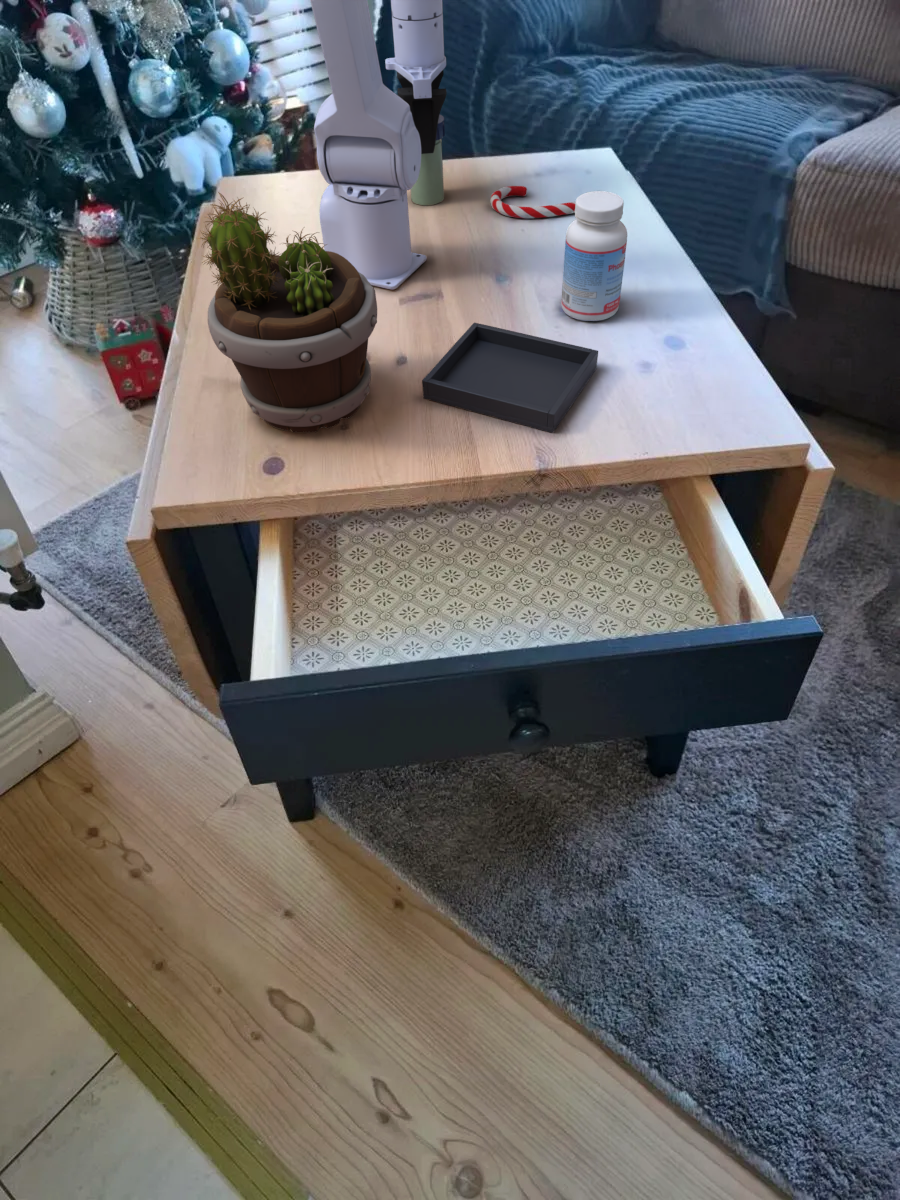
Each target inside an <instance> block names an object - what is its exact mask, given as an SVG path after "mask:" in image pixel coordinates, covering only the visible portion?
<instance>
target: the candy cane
mask: <svg viewBox="0 0 900 1200" xmlns="http://www.w3.org/2000/svg"><path fill="white" fill-rule="evenodd" d="M527 193H528V188H527V187H526V186H523V185H508V186H503V187H500V188H498V189H497V190H495V191H493V193H492V194H491V195H490V199H489V202H490V203H489V204H490V207H491V208H492V209H493V210H494V211H495V212H497V213H499V214H500V215H503V216H505V217H510V218H517V219H541V218H543V219H544V218H551V217H552V218H553V217H557V216H558V217H559V216H566V215H570V214H575V205H576V200H575V201H569V202H563V203H555V204H549V205H539V206H518V205H513V204H512V205H511V204H508V203H506V202H504V201H502V200H503V199H505V198H507V197H526V195H527Z"/></svg>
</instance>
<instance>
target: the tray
mask: <svg viewBox="0 0 900 1200" xmlns="http://www.w3.org/2000/svg"><path fill="white" fill-rule="evenodd" d="M598 358H599V350H597V349H592V348H589V347H583V346H580V345H576V344H571V343H566V342H562V341H557V340H553V339H549V338H545V337H540V336H536V335H532V334H527V333H524V332H519V331H514V330H510V329H505V328H501V327H496V326H493V325H489V324H483V323H478V322H473V323H472V324H471V325H470V326H469V328H468V329H467V330H465V332H464V333H463V334H462V335H461V336H460V337H459V338H458V339H457V340H456V342H455V343H454V344H453V345H452V347H450V348H449V350H448V351H447V352H446V353H445V354H443V356H442V357H441V358H440V360H439V361H438V362H436V364H435V365H434V366H433V368H432V369H431V370H430V371H429V372H428V373H427V374H426V375H425V377H423V378H422V380H421V385H422V387H421V388H422V398H423V399H425V400H429V401H432V402H436V403H440V404H443V405H446V406H451V407H455V408H457V409H458V408H459V409H462V410H466V411H469V412H474V413H477V414H481V415H485V416H489V417H492V418H496V419H499V420H503V421H506V422H511V423H515V424H518V425H522V426H526V427H530V428H533V429H537V430H541V431H544V432H549V433H554V432H555V431H556V430H557V428H558V426H559V425H560V424H561V422H562V420H563V419H565V416H566V415H567V413H568V412H569V410H570V409H571V407H572V406H573V405H574V403H575V401H576V400H577V398H578V397H579V395H580V394H581V392H582V391H583V390H584V389H585V387H586V385H587V383H588V382H589V381H590V379H591V378H592V376H593V375H594V373H595V372H596V370H597V368H598Z"/></svg>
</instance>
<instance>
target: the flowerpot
mask: <svg viewBox="0 0 900 1200" xmlns="http://www.w3.org/2000/svg"><path fill="white" fill-rule="evenodd" d="M218 195H219V197H220V198H221V200H222V201H221V200H220V199H219V198H217V200H218V201H219V204H220V205H218V204H213V203H211V206H212V208H213V209H214V210H213V211H212V213H207V215H208V217H207V216H205V218H207V219H208V220H206V221H203V223H204V227H205V229H206V231H203V230H200V233H201V235H202V237H201V236H200V238H198V237H196V239H198V240H202V241H203V242H202V244H201V246H200V247H201V248H202V249H204V247H205V244H207V246H206V249H208V252H206V253H205V254H204V255H202V257H203V258H206V259H205V260H203V261H202V262H201V264H203V265H205V264H206V266H207V265H208V266H209V269H210V270H213V267H215V270H217V272H216V274H215V273H214V272H212V274H213V275H212V274H211V277H213V278H214V279H216V280H214V281H211V282H210V283H213V286H214V285H217V289H216V290H215V293H214V296H213V297H212V298H211V300H210V302H209V304H208V308H207V325H208V330H209V334H210V336H211V339H212V341H213V343H214V345H215V347H216V348H217V349H218V350H219V351H220V353H222V354H223V356H225V357H227V358H228V359H231V362H232V363H233V366H234V367H235V369H236V370H237V372H238V374H239V375H240V390H241V393H242V396H243V397H244V399H245V401H246V403H247V404H248V406H249V408H250V409H251V411H252V413H253V414H254V415H257V416H258V417H259V418H261V419H262V420H263V421H264V422H265V423H266V424H267V425H269V426H271V427H273V428H275V429H278V430H280V431H281V430H282V431H290V432H292V433H295V434H296V433H301V434H302V433H317V432H318V431H319V429H322V428H325V429H330V428H333V427H335V426H337V425H339V424H340V422H341V421H342V420H347V419H349V418H351V417H352V416H354V415H355V414H356V413H357V411H358V410H359V408H360V407H361V405H362V403H363V402H364V401H365V399H366V397H367V396H368V394H370V391H371V389H370V385H371V380H372V379H371V378H372V377H371V376H372V368H371V365H370V362H369V360H368V358H367V355H368V347H369V339H370V337H371V335H372V333H373V332H374V330H375V327H376V325H377V323H378V302H377V295H376V290H375V288H374V286H373V285H371V284H370V283H369V282H368V280H367V279H366V278H365V276H364V275H363V274H361V273H359V272H358V271H357V270H356V268H355V267H354V266H353V265H352V264H351V263H350V262H349V261H348V260H347V259H345V258H344V257H343V256H341V255H339V254H337V253H334V252H330V251H325V250H324V244H323V242H319V241H318V239H317V237H316V236H315V234H320V232H318V231H317V232H314V233H307V234H305V235H304V236H302V234H303V231H304V229H305V227H303V228H302V229H301V230H300V232H298V231H295V230H293V232H294V233H296V234H294V237H293V241H292V242H291V243H290V242H289V237H290V235H287V237H286V238H285V241H286V242H281V243H280V245H281V244H282V245H285V246H286V249H285V250H284V251H283V252H281V253H280V252H279V251H278V252H277V253H276V248H277V247H276V246H274V247H275V248H274V251H273V249H271V248H268V243H269V245H271V244H272V245H274V243H275V240H273V239H272V238H274V237H277V235H276V234H275V232H273V233H270V232H271V230H272V227H269V226H267V229H266V228H264V227H263V226H264V225H263V222H262V221H261V220H264V221H265V220H266V221H268V219H267V218H263V217H261V216H262V215H264V214H266V211H264V212H262V213H261V214H260V213H259V211H257V210H256V209H255V208H254V206H253V207H252V208H253V211H254V212H255V213H254V212H252V213H251V214H249V213H248V212H249V211H248V210H249V209H250V206H251V204H248V203H247V202H246V204H245V205H243V206H242V205H241V202H240V201H241V200H242V199H244V197H241V198H239V197H238V196H236V198H237V200H236V201H235V199H233V201H231V202H230V203H229V202H228V201H227V199H226V197H225V196H224V195H223V194H222V193H220V192H219V191H218ZM237 203H238V204H237ZM245 209H246V210H245ZM214 211H215V213H214ZM210 215H211V216H210ZM259 222H260V223H259ZM205 223H208V224H205ZM208 225H209V227H207V226H208ZM261 227H263V228H264V230H263V228H261ZM269 228H270V229H269ZM207 232H208V233H207ZM309 235H310V236H309ZM307 238H308V239H307ZM295 239H297V242H295ZM204 240H205V241H204ZM313 240H314V241H313ZM270 242H271V243H270ZM321 245H322V246H321ZM326 245H327V244H326ZM269 249H270V250H269ZM209 250H211V253H210V251H209ZM272 252H273V253H272ZM212 266H213V267H212ZM218 272H219V273H218Z"/></svg>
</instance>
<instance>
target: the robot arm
mask: <svg viewBox="0 0 900 1200" xmlns="http://www.w3.org/2000/svg"><path fill="white" fill-rule="evenodd" d="M309 1H310V5H311V11H312V13H313V19H314V22H315V26H316V30H317V35H318V39H319V43H320V46H321V51H322V55H323V60H324V64H325V67H326V72H327V75H328V80H329V84H330V89H331V92H332V93H331V94H330V95H329V96H328V97H327V98H325V100H324V101H323V102H322V103H321V105H320V107H319V108H318V110H317V114H316V116H315V121H314V126H313V129H314V130H313V131H314V137H315V142H316V159H317V165H318V169H319V172H320V174H321V176H322V177H323V179H324V182H326V183H327V187H326V188H325V189H324V191H323V193H322V196H321V198H320V202H319V203H320V204H319V223H320V224H319V225H320V230H321V237H322V243H323V244H322V245H323V246H324V247H323V249H324V250H325V251H330V252H334V253H337V254H339V255H341V256H343V257H344V258H345V259H347V260H348V261H349V262H350V263H351V264H352V265H353V266H354V267H355V268H356V270H357V271H358V272H359V273H361V274H363V275H364V276H365V278H366V279H367V280H368V282H369V283H370V284H371V286H373V287H379V288H383V289H388V290H395V289H397V288H398V287H400V286H401V284H403V283H404V282H405V281H406V280H407V279H408V278H409V277H411V276H412V274H413V273H414V272H415V271H417V269H419V268H420V267H421V266H422V265H423V264H424V263H425V262H426V261H427V260H428V259H427V255H426V254H421V253H417V252H412V240H411V229H410V227H411V226H410V213H409V202H408V201H409V200H408V191H411V190H410V189H411V188H412V187H413V185H414V184H415V183H416V181H417V179H418V176H419V172H420V166H421V154H428V153H434V149H435V143H436V135H437V126H438V119H439V115H441V111H442V108H443V105H444V103H445V100H446V98H447V88H440V85H441V83H442V81H443V80H442V79H443V77H444V74H445V73H444V69H445V68H446V67H447V57H446V56H445V42H444V41H445V40H444V14H443V12H444V11H443V0H390V8H391V9H390V10H391V23H392V36H393V47H394V48H393V49H394V57H389V58H388V57H387V58H386V59H384V61H385V62H384V63H385V64H384V65H385V69H386V71H387V70H388V71H396V78H397V80H398V82H399V83H400V85H401V87H398V88H397V94H396V93H395V92H394V91H392V90H391V89H390V88H389V87H387V85H385V84H384V83H383V76H382V72H381V67H380V66H381V65H380V61H379V55H378V50H377V44H376V39H375V34H374V28H373V22H372V17H371V13H370V7H369V1H368V0H309ZM326 244H327V245H326Z"/></svg>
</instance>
